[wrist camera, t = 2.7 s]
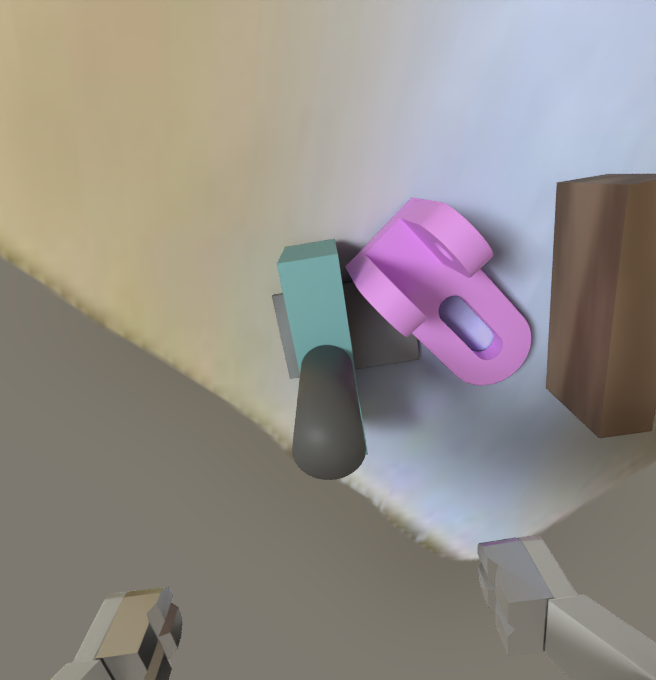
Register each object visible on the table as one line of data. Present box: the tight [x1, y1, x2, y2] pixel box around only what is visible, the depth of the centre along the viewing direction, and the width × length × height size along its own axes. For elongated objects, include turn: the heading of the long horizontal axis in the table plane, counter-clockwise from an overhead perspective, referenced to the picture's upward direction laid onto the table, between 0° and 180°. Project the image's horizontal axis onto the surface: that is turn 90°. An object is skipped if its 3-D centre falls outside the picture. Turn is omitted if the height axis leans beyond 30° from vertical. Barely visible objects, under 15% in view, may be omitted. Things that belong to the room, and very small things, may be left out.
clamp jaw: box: [277, 239, 368, 480], centre depth 21 cm, size 3×12×12 cm, turn 9°
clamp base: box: [272, 174, 656, 438], centre depth 24 cm, size 21×14×6 cm, turn 99°
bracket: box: [346, 198, 531, 385], centre depth 23 cm, size 13×6×7 cm, turn 46°
